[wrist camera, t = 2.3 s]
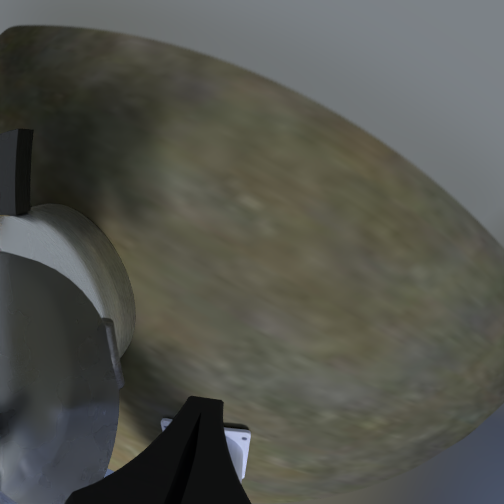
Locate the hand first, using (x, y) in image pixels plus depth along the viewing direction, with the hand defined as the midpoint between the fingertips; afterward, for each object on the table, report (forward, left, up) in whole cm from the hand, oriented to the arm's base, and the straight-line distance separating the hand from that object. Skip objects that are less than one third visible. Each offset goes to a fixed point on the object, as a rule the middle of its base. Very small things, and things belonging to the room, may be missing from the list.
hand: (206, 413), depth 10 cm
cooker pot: (+3, +14, -8) cm, 16 cm away
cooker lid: (0, +8, +6) cm, 10 cm away
